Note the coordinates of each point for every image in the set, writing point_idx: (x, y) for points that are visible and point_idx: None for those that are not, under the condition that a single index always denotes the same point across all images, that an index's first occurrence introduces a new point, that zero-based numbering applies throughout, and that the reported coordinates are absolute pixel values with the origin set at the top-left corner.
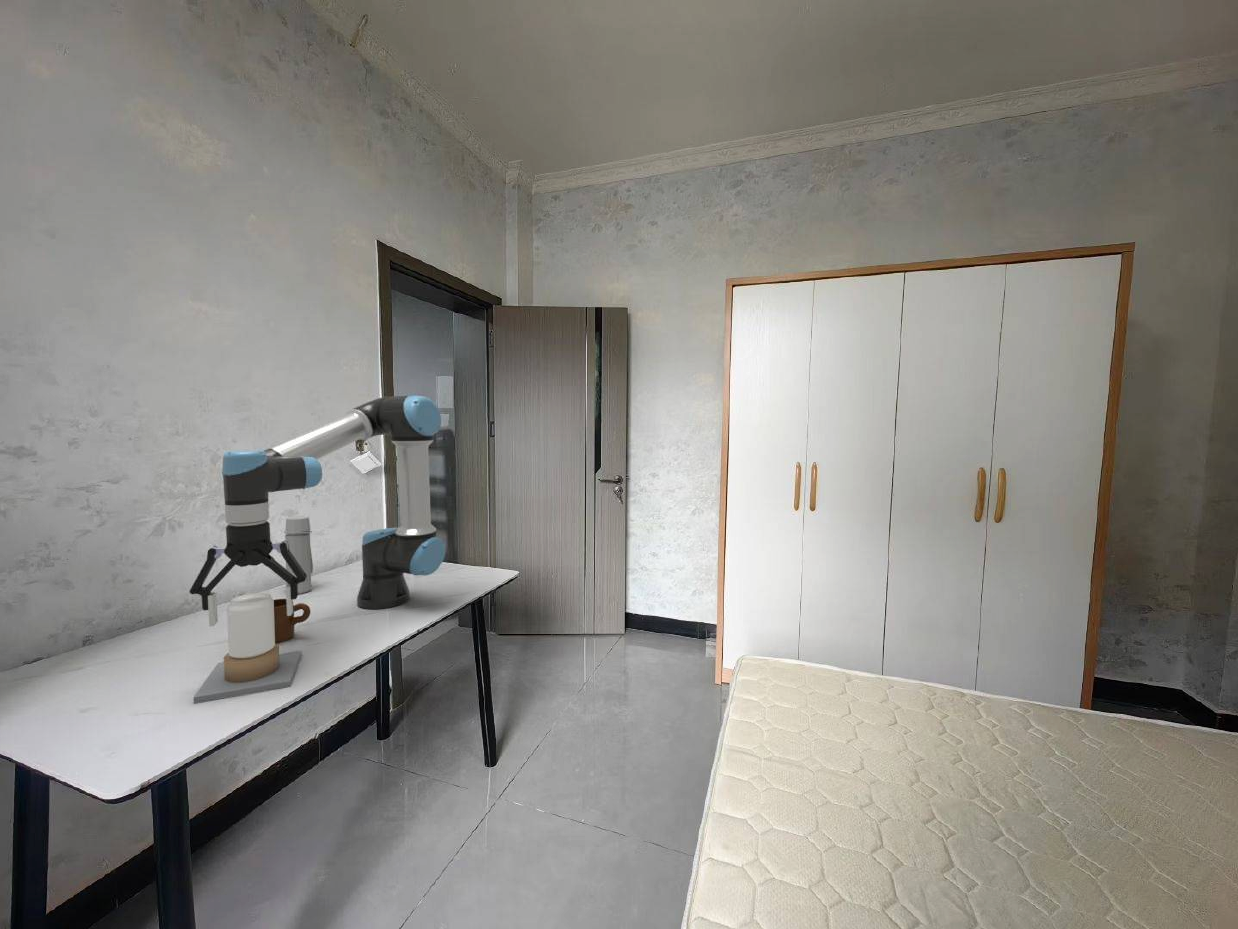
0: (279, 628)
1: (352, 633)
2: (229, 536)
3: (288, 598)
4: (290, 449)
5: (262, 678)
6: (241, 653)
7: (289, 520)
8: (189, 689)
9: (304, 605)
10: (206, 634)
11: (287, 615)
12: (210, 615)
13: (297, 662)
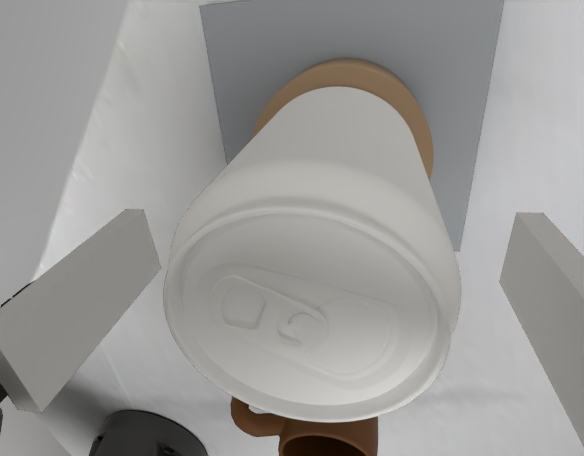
0: None
1: (161, 316)
2: None
3: (60, 271)
4: None
5: (298, 68)
6: (356, 91)
7: None
8: (524, 116)
9: (239, 420)
10: (508, 448)
11: (139, 210)
12: (570, 253)
13: None
